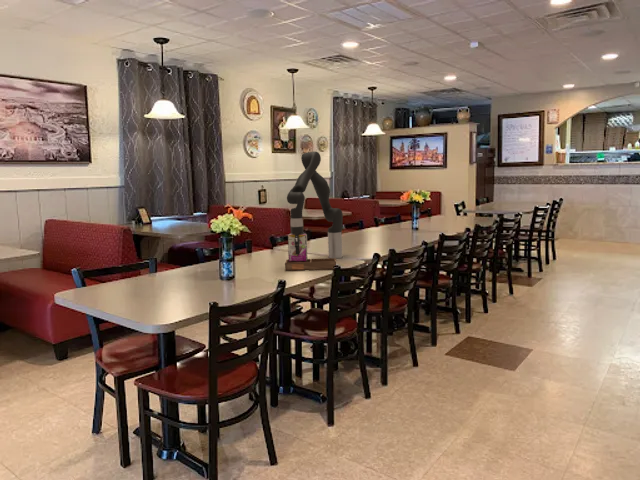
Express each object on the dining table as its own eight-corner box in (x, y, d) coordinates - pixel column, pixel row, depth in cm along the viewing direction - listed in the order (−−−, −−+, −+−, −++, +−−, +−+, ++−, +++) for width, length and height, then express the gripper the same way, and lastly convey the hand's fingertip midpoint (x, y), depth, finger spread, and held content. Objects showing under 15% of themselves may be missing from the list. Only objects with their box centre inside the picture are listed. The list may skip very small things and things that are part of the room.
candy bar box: (288, 261, 302) (287, 234, 299) (289, 260, 307) (288, 233, 304) (306, 261, 300) (305, 234, 298) (307, 260, 305) (306, 233, 303)
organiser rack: (286, 267, 310) (286, 259, 309) (336, 266, 309) (335, 258, 308) (285, 271, 299) (284, 263, 298) (336, 269, 298) (336, 261, 297)
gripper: (302, 226, 293) (303, 255, 296) (303, 224, 307) (304, 251, 310) (289, 227, 293) (290, 255, 296) (291, 224, 308) (292, 251, 310)
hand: (297, 253), depth 303 cm, fingers closed on candy bar box, 5 cm apart
